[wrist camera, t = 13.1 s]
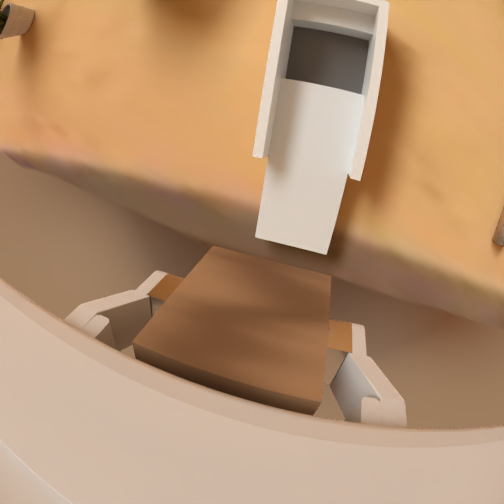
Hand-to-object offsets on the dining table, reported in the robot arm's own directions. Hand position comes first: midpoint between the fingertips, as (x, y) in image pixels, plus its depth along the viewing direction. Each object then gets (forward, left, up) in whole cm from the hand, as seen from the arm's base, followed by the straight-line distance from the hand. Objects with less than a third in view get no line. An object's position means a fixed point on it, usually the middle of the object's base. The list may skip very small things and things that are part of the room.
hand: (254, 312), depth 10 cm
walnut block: (0, +1, -2) cm, 2 cm away
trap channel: (0, -7, -19) cm, 20 cm away
